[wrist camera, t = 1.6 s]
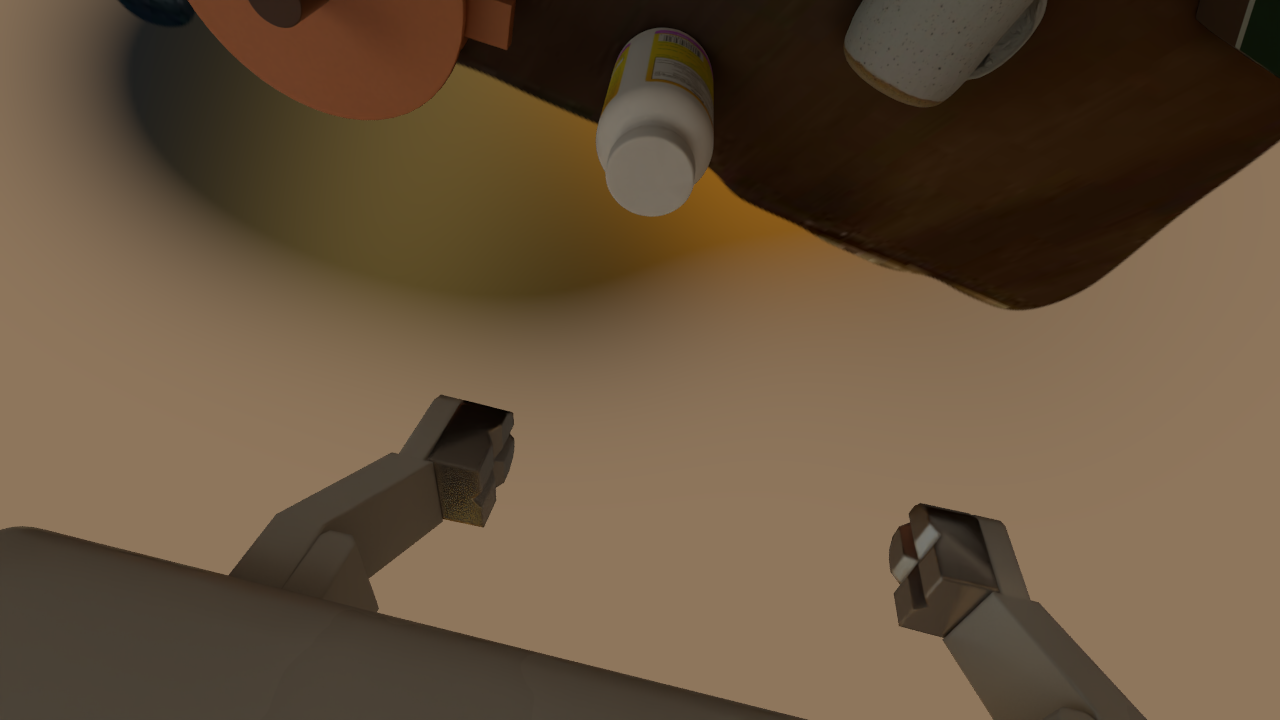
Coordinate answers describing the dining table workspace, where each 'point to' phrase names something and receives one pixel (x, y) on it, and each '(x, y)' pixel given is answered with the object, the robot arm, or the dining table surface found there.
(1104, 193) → the dining table surface
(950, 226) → the dining table surface
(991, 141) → the dining table surface
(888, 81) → the ceramic mug
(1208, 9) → the beer bottle
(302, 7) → the lid
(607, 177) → the supplement bottle
